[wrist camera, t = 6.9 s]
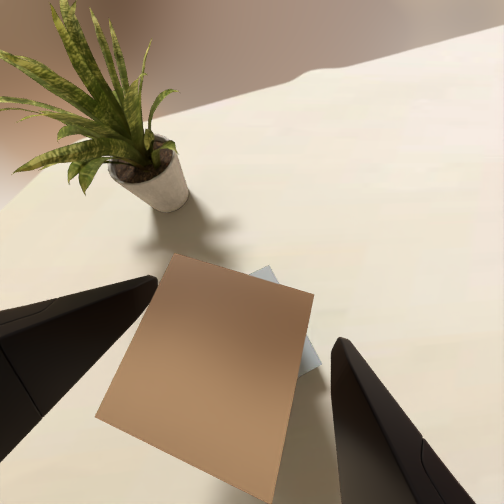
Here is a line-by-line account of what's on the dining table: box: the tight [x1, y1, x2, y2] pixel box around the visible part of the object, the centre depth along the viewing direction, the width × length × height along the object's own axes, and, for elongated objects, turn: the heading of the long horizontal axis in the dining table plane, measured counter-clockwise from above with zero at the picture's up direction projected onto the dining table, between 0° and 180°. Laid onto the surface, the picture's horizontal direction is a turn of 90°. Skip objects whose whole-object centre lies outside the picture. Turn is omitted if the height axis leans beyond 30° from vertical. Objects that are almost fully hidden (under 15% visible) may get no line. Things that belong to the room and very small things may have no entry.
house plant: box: [0, 0, 189, 212], centre depth 18 cm, size 14×14×16 cm
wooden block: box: [95, 253, 314, 504], centre depth 11 cm, size 5×5×11 cm
